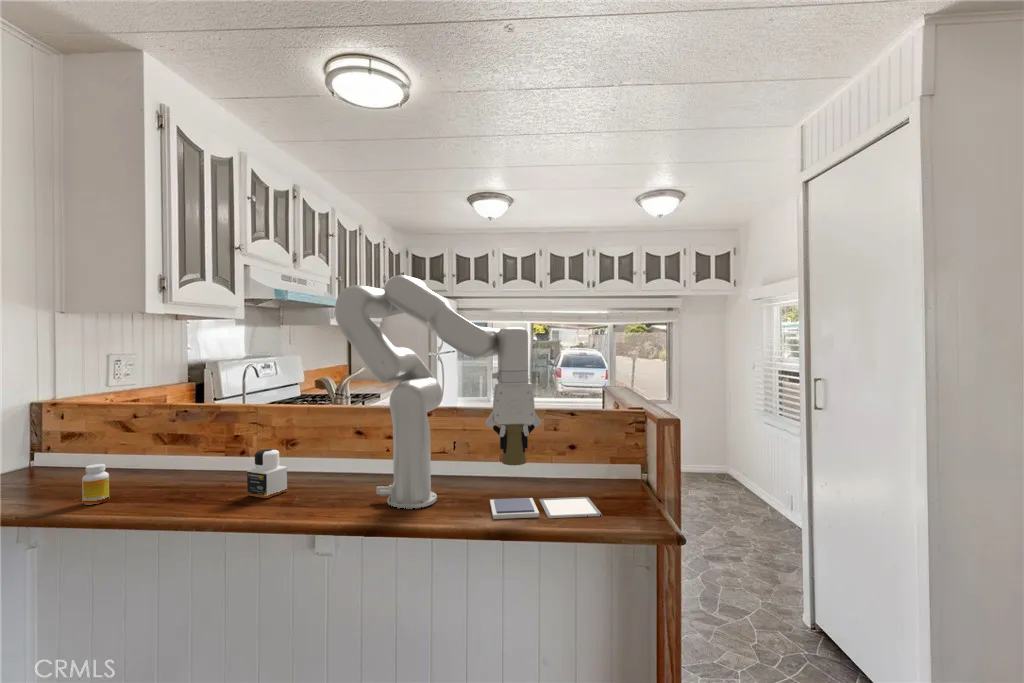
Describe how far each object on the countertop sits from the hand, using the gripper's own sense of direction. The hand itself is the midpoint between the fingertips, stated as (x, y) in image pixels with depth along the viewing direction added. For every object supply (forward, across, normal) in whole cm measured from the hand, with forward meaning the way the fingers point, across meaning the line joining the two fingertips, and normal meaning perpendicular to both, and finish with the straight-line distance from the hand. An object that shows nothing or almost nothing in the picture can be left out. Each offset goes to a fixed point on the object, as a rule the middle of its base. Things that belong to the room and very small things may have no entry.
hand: (513, 450), depth 125 cm
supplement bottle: (+14, -108, +19) cm, 110 cm away
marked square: (+15, +14, 0) cm, 20 cm away
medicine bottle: (+15, -66, +21) cm, 70 cm away
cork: (+3, 0, 0) cm, 3 cm away
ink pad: (+15, 0, 0) cm, 15 cm away
